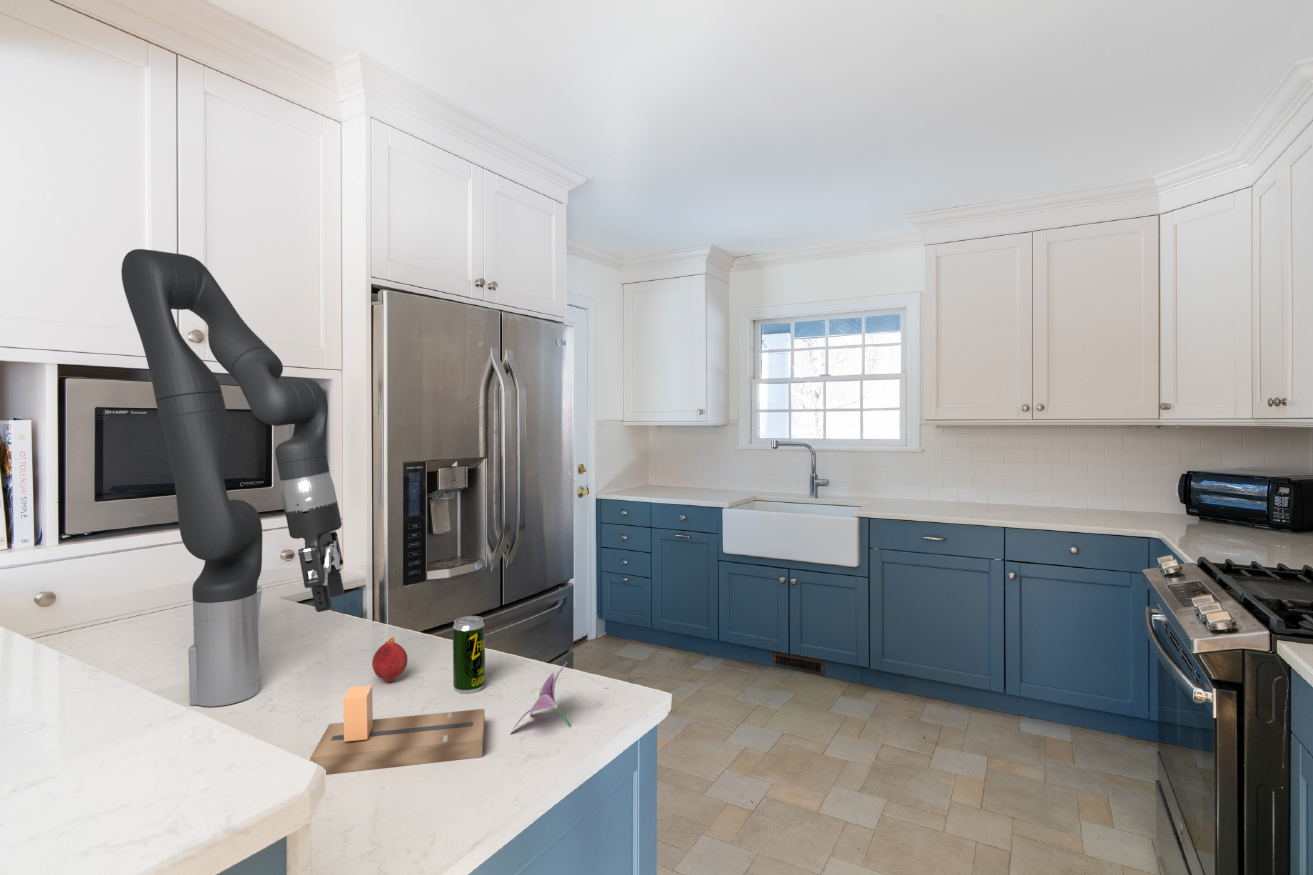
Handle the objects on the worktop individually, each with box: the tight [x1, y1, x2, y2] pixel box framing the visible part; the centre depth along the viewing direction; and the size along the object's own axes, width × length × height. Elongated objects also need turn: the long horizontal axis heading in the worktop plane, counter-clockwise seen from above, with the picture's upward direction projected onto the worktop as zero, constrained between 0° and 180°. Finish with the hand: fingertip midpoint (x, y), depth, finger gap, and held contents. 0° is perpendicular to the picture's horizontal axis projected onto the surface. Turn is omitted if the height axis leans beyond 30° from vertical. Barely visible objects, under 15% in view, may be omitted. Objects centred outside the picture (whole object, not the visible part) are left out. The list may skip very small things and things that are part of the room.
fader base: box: [309, 708, 486, 775], centre depth 96 cm, size 22×10×3 cm, turn 103°
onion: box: [371, 636, 408, 683], centre depth 120 cm, size 6×6×8 cm
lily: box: [510, 663, 572, 734], centre depth 103 cm, size 12×12×10 cm
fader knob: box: [342, 684, 374, 742], centre depth 94 cm, size 3×4×6 cm
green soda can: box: [452, 615, 486, 695], centre depth 117 cm, size 5×5×12 cm
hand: (331, 602), depth 107 cm, fingers open, 8 cm apart
